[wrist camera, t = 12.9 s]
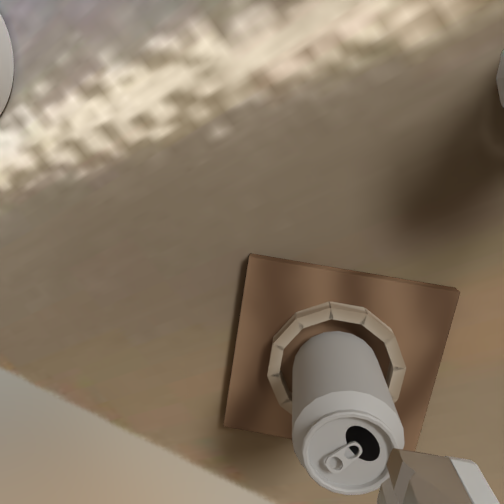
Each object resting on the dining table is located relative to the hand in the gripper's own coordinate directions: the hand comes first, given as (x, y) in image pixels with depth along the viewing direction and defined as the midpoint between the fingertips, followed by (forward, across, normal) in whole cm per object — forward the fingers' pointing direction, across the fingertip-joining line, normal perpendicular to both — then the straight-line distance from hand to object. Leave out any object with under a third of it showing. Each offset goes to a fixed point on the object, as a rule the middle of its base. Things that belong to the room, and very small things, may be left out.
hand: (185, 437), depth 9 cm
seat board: (+30, -9, +13) cm, 34 cm away
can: (+29, -9, +13) cm, 33 cm away
